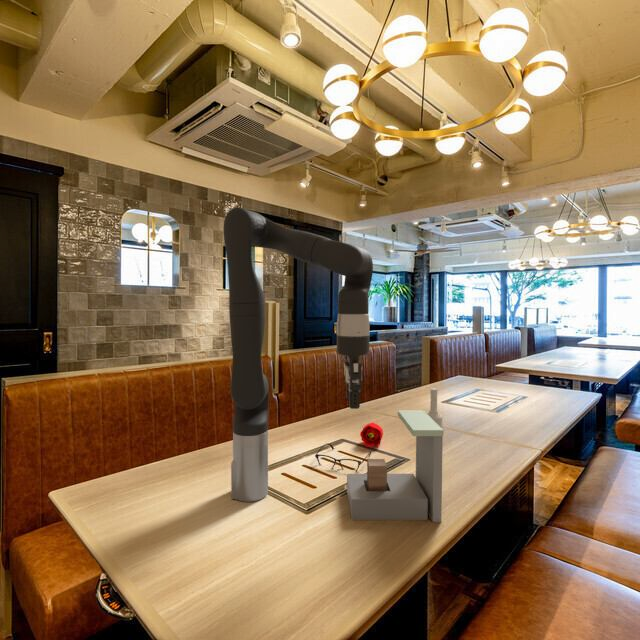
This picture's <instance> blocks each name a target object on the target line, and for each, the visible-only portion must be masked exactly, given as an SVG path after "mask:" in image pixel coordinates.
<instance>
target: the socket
mask: <svg viewBox="0 0 640 640" xmlns="http://www.w3.org/2000/svg"><path fill="white" fill-rule="evenodd" d="M346 493H347V494H346V495H347V500H348V501H347V502H348V505H349V513H350V518H351V521H399V520H400V521H405V520H406V521H407V520H408V521H409V520H410V521H411V520H413V521H417V520H418V521H423V520H424V521H425V520H428V499H427V497H426V495H425V494H424V492H423V490H422V488H421V487H420V485H419V483H418V481H417V480H416V475H415V474H414V473H387V491H367V473H346Z"/></svg>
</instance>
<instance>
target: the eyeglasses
mask: <svg viewBox="0 0 640 640" xmlns="http://www.w3.org/2000/svg"><path fill="white" fill-rule="evenodd" d="M325 445H329V446H330V448H331V450H333V449H334V450H335V447H334V446H333V445H332V444H330V443H324V444H323V445H322V446H321V447H320V449H318V451H317V452H316V453H315V455H314V457H315V458H316V460H317V463H318V465H319V466H322V464H321V463H320V459H319V457H325V458H326V457H327V458H329V459H332V460H334V463H333V465H332V466H331V468H334V467H335V465H337V462H338V464H339V466H340V468H341V469H342V470H344V467H343V466H342V462H341V461H352V462H356V463H357V468H356V470H355V472H357V471H358V469H359V467H361V465H362V464H363V463H364V461H365V460H366V459H368V456H371V455H372V454H371V453H372V451H373V450H372V449H370V451H369V452H368V454H367V455H366V456H365V458H363V460H362V461H360V460H357V459H351V458H340V459H336V458H334V457H332V456H329V455H325V454H318V453H319V452H320V451H321V450H322V448H323V447H324V446H325ZM334 450H333V451H334Z"/></svg>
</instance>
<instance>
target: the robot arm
mask: <svg viewBox="0 0 640 640" xmlns="http://www.w3.org/2000/svg"><path fill="white" fill-rule="evenodd" d="M224 217H225V218H224V221H223V240H224V247H225V253H226V254H225V255H226V262H227V274H228V275H227V277H228V296H229V297H228V299H229V300H228V301H229V302H228V311H229V315H228V316H229V326H230V328H229V329H230V341H231V349H232V351H231V352H232V366H231V367H232V368H231V381H230V397H231V399H232V400H233V402H234V413H233V420H232V461H231V464H230V472H231V473H230V476H231V477H230V481H231V482H230V483H231V484H230V486H231V487H230V488H231V489H230V490H231V491H230V493H231V495H230V496H231V500H238V501H240V502H256V501H257V502H258V501H260V500H262V499H264V498H266V497H267V495H268V493H269V428H268V427H269V414H270V412H269V411H270V408H269V407H270V406H269V404H270V403H269V402H270V386H269V381H268V378H267V377H266V375H265V374H264V372H263V362H262V351H263V344H264V338H265V337H264V336H265V328H266V300H265V297H266V296H265V294H264V290H263V288H262V285H261V283H260V280H259V278H258V276H257V274H256V271H255V267H254V264H253V258H252V248H264V249H271V250H275V251H278V252H282V253H284V254H286V255H288V256H290V257H292V258H294V259H296V260H299V261H300V262H301V261H302V262H304V263H307V264H310V265H313V266H316V267H320V268H324V269H326V270H328V271H331V272H333V273H336V274H338V275H341V276H344V283H343V287H342V289H341V290H339V292H338V295H337V297H338V298H337V319H336V320H337V321H336V353H337V354H338V355H339V356H344V359H345V361H343V369H344V371H343V372H344V373H343V374H344V378H345V380H344V382H345V383H346V384H345V385H346V386H345V387H346V389H345V391H346V395H345V396H346V400H349V401H348V402H349V404H348V407H349V409H351V410H354V409H355V410H356V409H357V410H358V409H360V407H361V406H360V405H361V404H360V403H361V402H360V400H361V399H360V398H361V397H360V396H361V394H360V392H361V391H362V389H363V386H362V385H363V383H362V381H363V363H362V361H360V357H361V356H367V355H369V354H370V339H371V338H370V334H371V333H370V327H371V326H370V325H371V324H370V317H369V315H370V314H369V312H370V311H369V305H370V304H369V301H370V300H369V299H370V298H369V293H370V290H371V283H372V279H373V271H374V263H373V257H372V255H371V254H370V252H369V251H368V250H367V249H365V248H363V247H360V246H358V245H357V246H356V245H353V244H350V243H346V242H342V241H337V240H332V239H331V238H328V237H326V236H323V235H319V234H316V233H312V232H309V231H304V230H299V229H295V228H289V227H286V226H283V225H280V224H278V223H276V222H274V221H273V220H271V219H268V218H267V217H265V216H263V215H261V214H260V213H259V212H256V211H252V210H249V209H246V208H244V207H243V208H242V207H233V208H231V209H230V210H229V211H228V212H227V213H226V215H225V216H224ZM356 383H357V384H356Z"/></svg>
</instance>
